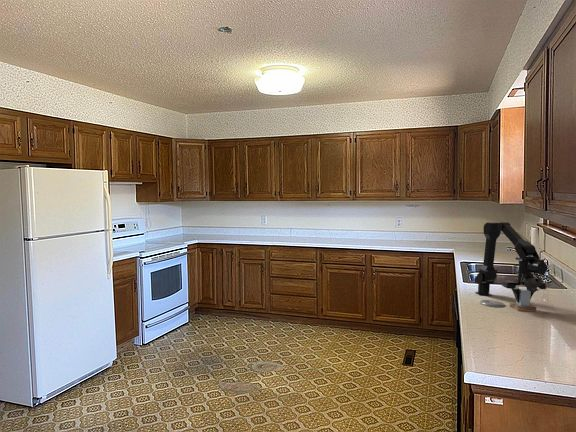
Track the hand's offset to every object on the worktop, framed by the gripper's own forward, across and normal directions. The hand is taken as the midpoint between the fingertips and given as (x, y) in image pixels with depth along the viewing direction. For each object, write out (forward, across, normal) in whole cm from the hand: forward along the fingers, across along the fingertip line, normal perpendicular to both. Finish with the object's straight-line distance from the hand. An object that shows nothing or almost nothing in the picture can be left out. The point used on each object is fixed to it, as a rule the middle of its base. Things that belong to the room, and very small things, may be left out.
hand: (522, 302), depth 216 cm
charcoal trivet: (+3, -12, +7) cm, 14 cm away
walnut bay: (+3, 0, 0) cm, 3 cm away
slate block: (+3, 0, 0) cm, 3 cm away
